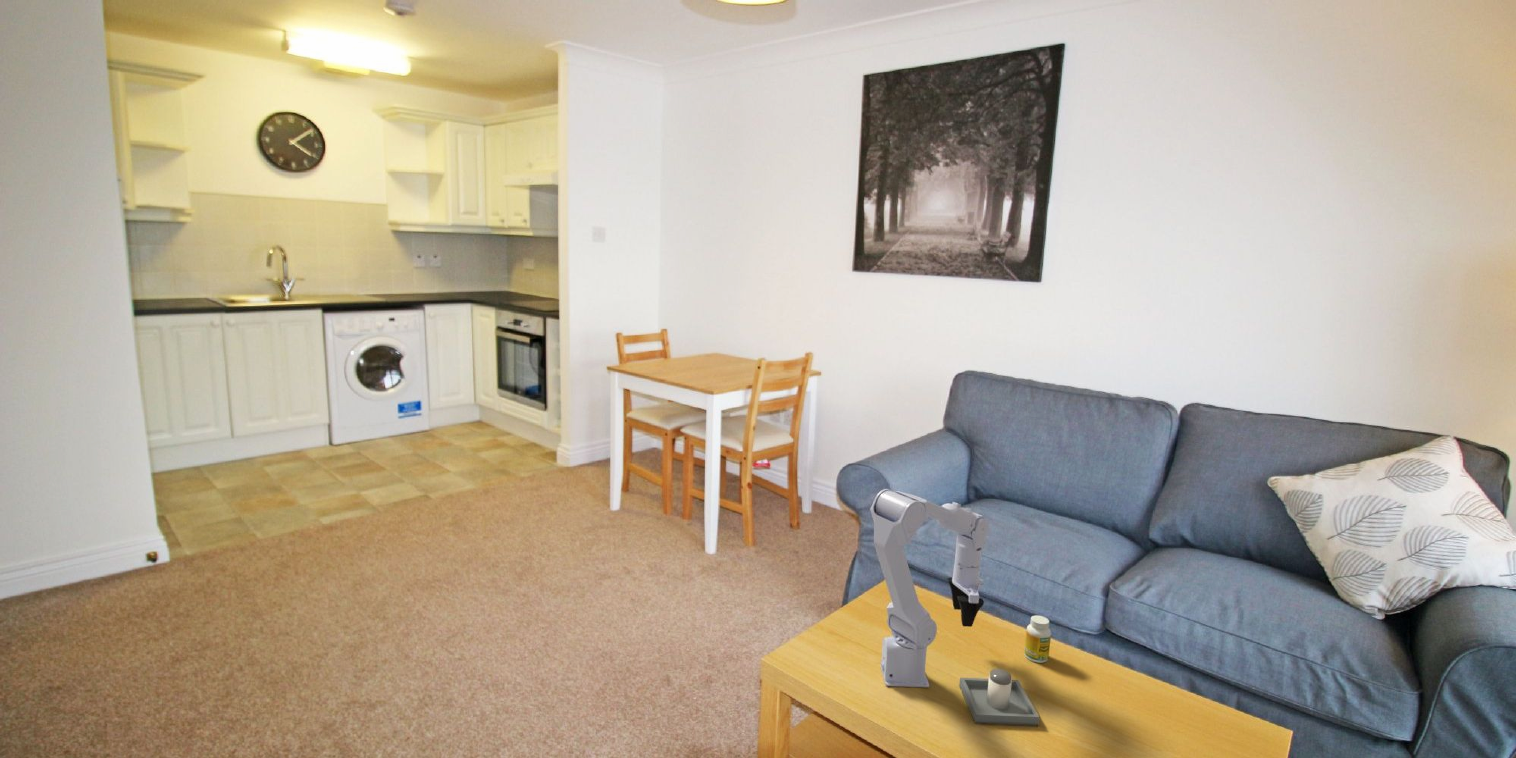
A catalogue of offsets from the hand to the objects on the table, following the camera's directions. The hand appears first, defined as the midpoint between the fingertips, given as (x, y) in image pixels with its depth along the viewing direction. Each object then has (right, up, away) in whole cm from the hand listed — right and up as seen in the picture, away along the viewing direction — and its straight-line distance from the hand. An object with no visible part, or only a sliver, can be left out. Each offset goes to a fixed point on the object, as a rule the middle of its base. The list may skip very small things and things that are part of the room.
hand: (962, 617), depth 168 cm
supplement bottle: (+18, -10, +2) cm, 20 cm away
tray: (+2, -13, -17) cm, 21 cm away
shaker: (+3, -12, -17) cm, 21 cm away
